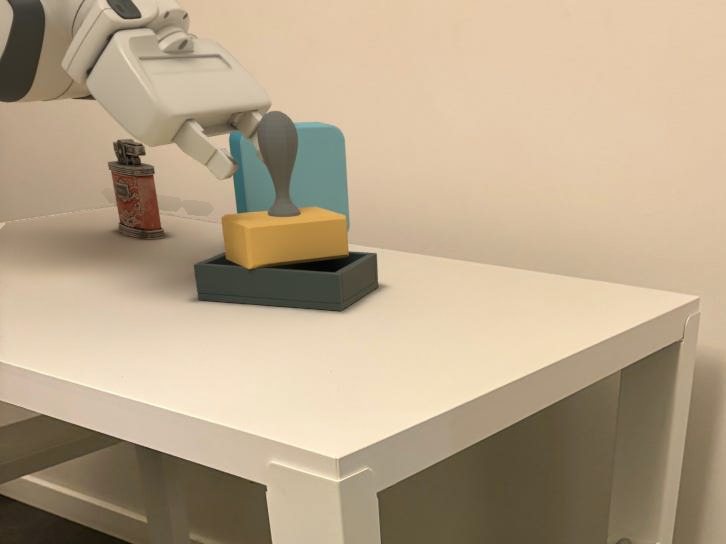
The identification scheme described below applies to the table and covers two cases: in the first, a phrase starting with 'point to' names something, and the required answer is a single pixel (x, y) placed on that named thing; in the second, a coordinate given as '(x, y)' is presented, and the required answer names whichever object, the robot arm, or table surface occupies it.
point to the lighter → (135, 191)
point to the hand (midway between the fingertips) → (255, 167)
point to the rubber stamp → (283, 212)
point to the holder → (289, 282)
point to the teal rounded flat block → (295, 172)
